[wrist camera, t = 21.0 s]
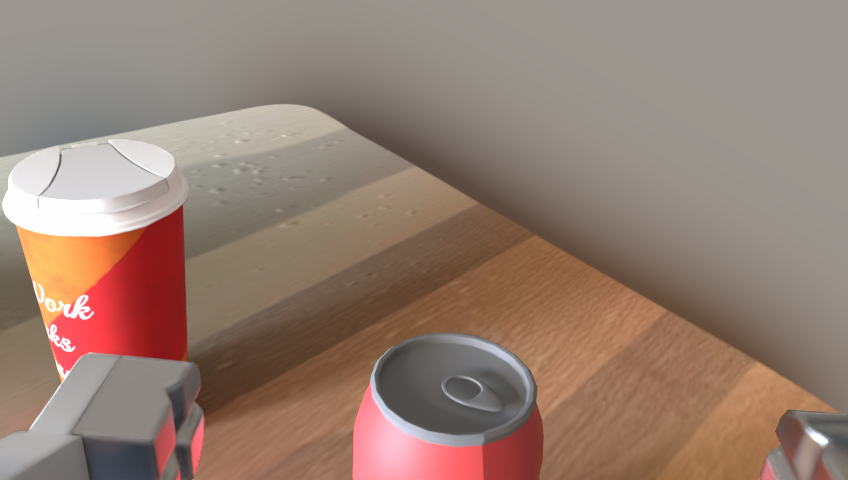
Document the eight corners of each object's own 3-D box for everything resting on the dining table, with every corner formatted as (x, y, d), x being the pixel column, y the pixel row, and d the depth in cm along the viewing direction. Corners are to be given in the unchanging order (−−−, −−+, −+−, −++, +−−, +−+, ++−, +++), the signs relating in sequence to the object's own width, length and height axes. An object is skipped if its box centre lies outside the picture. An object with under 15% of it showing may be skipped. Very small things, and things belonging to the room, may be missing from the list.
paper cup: (44, 389, 42) (-10, 146, 35) (188, 353, 45) (164, 126, 39) (64, 489, 36) (4, 221, 29) (227, 438, 40) (208, 189, 33)
